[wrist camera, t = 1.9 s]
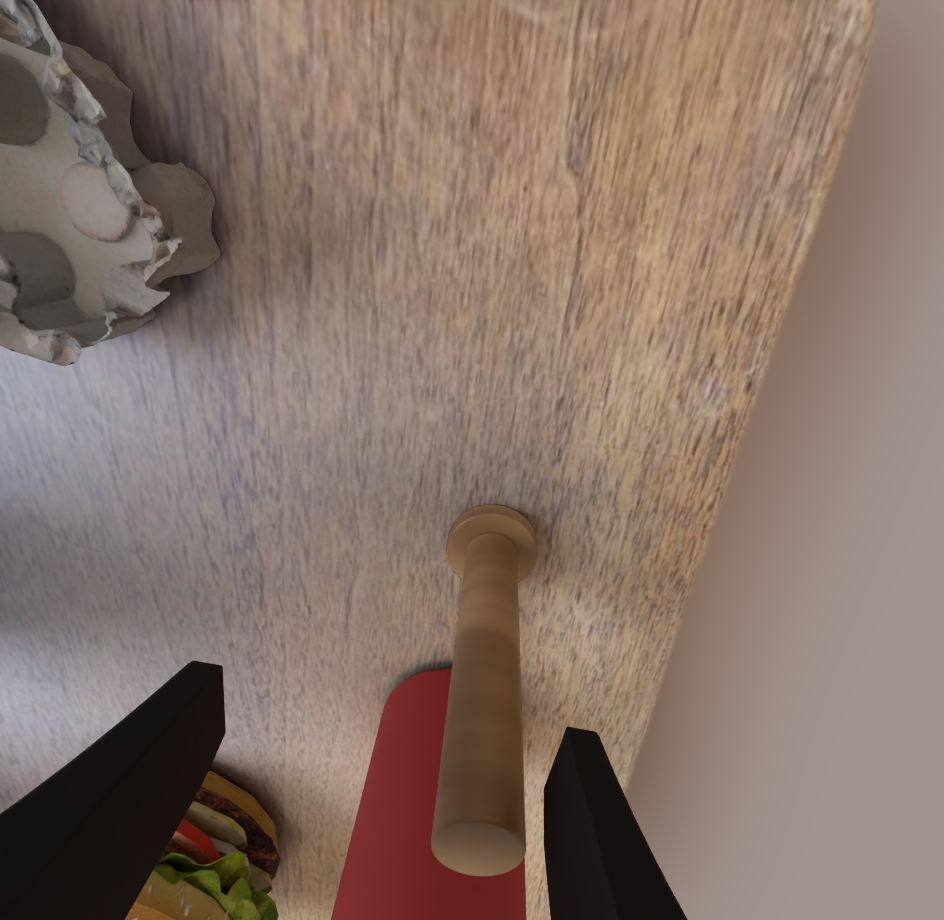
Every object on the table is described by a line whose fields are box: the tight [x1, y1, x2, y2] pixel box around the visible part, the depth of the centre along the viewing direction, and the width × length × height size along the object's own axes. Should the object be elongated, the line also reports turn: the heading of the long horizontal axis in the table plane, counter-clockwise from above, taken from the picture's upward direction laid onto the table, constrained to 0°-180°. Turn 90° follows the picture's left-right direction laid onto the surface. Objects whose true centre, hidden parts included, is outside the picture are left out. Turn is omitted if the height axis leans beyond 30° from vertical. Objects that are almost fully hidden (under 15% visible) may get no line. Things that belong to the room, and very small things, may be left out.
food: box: [125, 771, 280, 920], centre depth 27 cm, size 14×14×8 cm
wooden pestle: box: [431, 505, 537, 876], centre depth 16 cm, size 4×4×11 cm
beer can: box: [331, 668, 526, 920], centre depth 20 cm, size 7×7×12 cm
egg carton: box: [0, 0, 221, 366], centre depth 14 cm, size 11×8×4 cm
